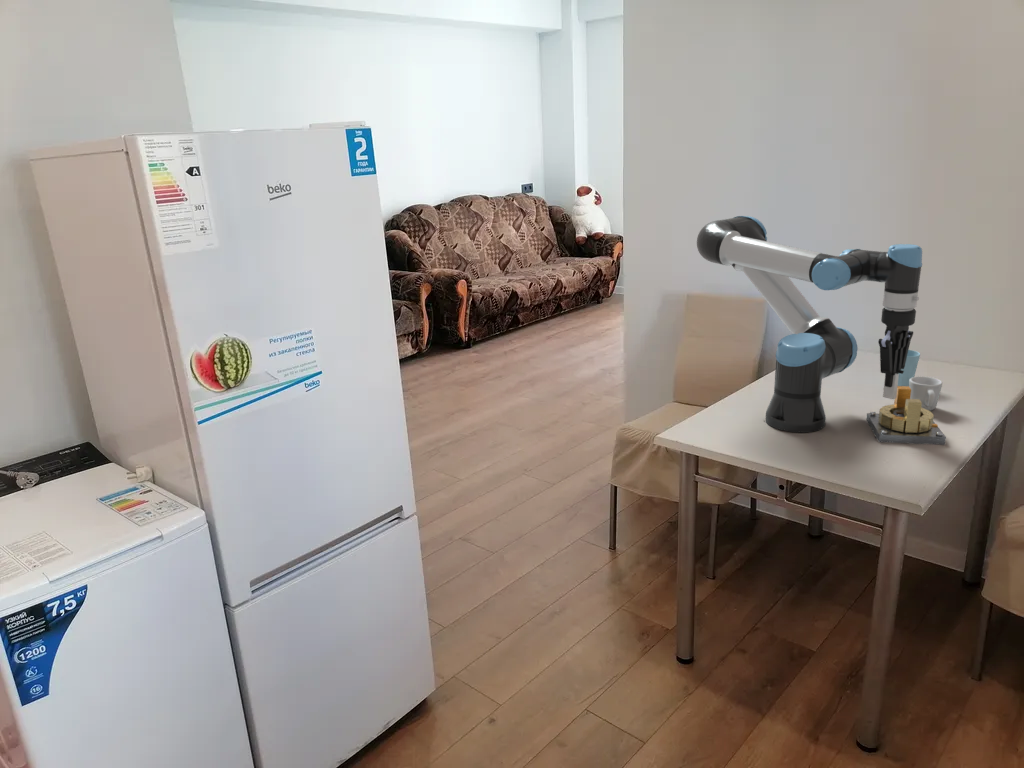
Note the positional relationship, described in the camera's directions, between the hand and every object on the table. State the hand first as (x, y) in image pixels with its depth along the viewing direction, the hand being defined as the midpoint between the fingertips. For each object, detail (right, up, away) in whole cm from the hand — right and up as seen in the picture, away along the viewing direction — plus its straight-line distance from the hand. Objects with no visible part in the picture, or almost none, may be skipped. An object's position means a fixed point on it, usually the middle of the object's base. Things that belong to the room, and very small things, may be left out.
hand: (889, 397), depth 196 cm
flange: (+3, -9, -1) cm, 9 cm away
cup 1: (+19, +3, +31) cm, 37 cm away
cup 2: (+16, -4, +13) cm, 21 cm away
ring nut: (+3, -7, -2) cm, 7 cm away
